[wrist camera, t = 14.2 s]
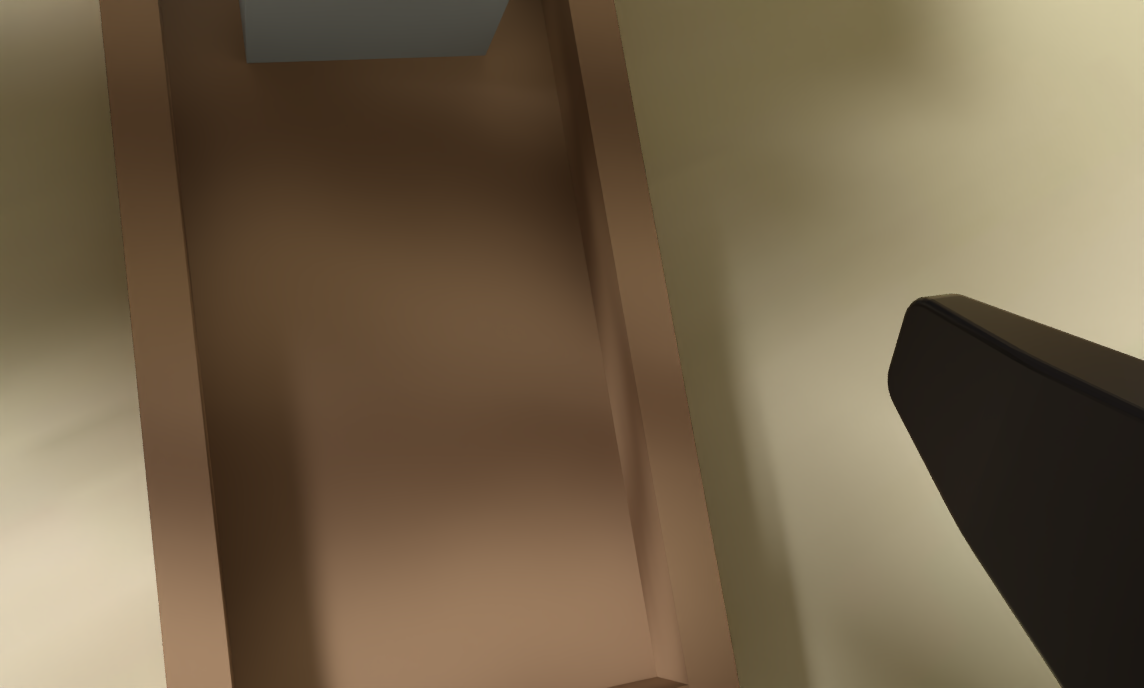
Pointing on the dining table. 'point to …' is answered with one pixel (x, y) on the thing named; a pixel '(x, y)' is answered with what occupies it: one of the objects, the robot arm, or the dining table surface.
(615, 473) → the wooden tray
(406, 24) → the slate post
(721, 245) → the dining table surface
